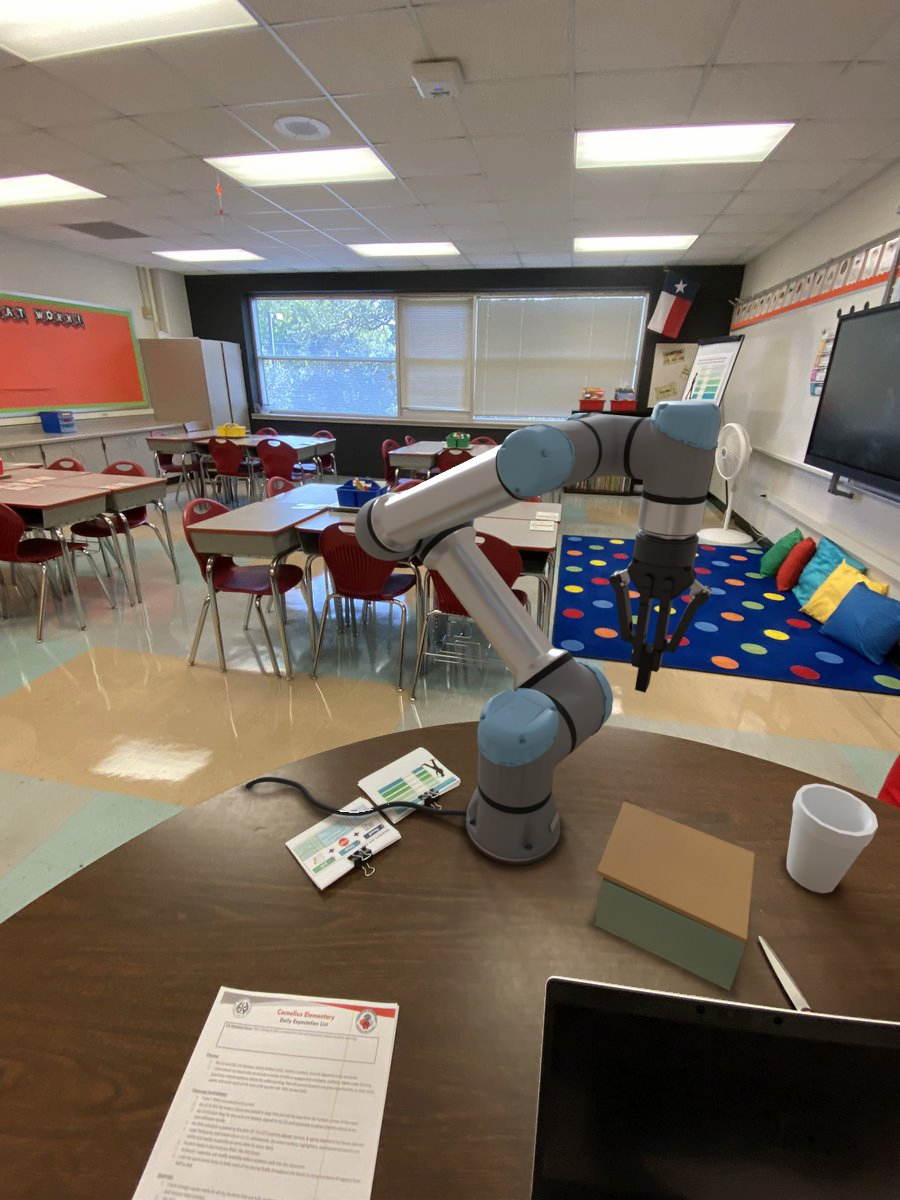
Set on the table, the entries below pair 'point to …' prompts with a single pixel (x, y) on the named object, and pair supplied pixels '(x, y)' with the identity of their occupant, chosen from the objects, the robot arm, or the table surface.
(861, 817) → the foam cup
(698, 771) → the table surface
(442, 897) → the table surface
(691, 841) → the lid
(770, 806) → the table surface
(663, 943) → the chest
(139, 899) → the table surface
